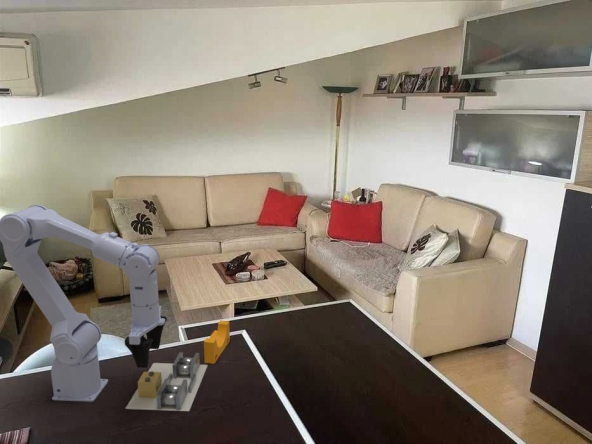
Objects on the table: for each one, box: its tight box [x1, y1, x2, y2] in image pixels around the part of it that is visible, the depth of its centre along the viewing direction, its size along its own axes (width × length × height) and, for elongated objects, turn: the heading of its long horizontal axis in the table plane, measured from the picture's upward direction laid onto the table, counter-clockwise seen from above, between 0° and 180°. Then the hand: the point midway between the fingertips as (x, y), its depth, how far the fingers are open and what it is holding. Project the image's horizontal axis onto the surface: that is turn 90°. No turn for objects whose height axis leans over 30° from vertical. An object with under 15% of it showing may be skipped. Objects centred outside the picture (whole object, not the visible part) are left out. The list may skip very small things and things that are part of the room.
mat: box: [125, 362, 209, 412], centre depth 107 cm, size 14×18×1 cm
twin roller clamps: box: [157, 351, 201, 410], centre depth 106 cm, size 6×18×4 cm, turn 178°
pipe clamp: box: [203, 320, 231, 364], centre depth 121 cm, size 12×4×6 cm, turn 169°
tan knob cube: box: [137, 371, 162, 398], centre depth 104 cm, size 4×4×4 cm
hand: (148, 357), depth 102 cm, fingers open, 7 cm apart
